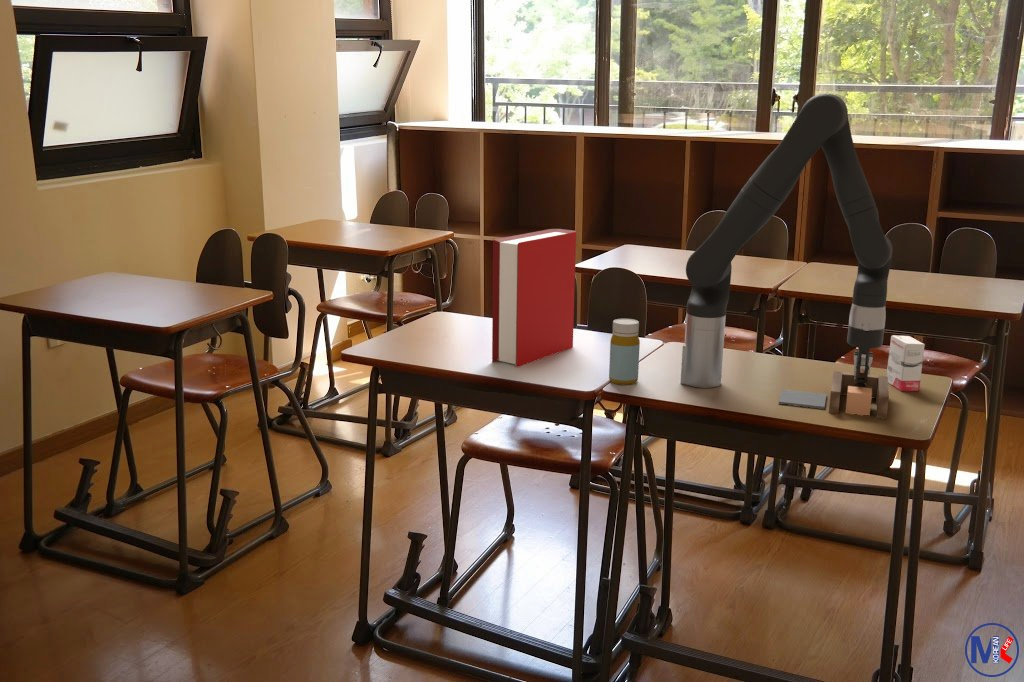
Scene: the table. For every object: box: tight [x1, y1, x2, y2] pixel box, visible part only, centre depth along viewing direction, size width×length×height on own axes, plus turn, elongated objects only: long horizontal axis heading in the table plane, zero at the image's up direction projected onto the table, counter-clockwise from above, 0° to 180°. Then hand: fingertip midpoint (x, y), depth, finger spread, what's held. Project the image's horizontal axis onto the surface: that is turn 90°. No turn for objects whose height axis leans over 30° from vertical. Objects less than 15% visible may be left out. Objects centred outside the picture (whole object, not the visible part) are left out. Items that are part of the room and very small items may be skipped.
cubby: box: [828, 370, 890, 420], centre depth 219 cm, size 12×17×5 cm
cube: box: [845, 386, 873, 417], centre depth 214 cm, size 5×5×5 cm
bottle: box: [608, 318, 641, 386], centre depth 233 cm, size 7×7×15 cm
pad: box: [778, 388, 827, 410], centre depth 222 cm, size 10×10×1 cm
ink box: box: [886, 334, 926, 392], centre depth 233 cm, size 8×5×12 cm, turn 3°
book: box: [491, 228, 577, 368], centre depth 255 cm, size 27×8×32 cm, turn 143°
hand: (858, 398), depth 219 cm, fingers closed
